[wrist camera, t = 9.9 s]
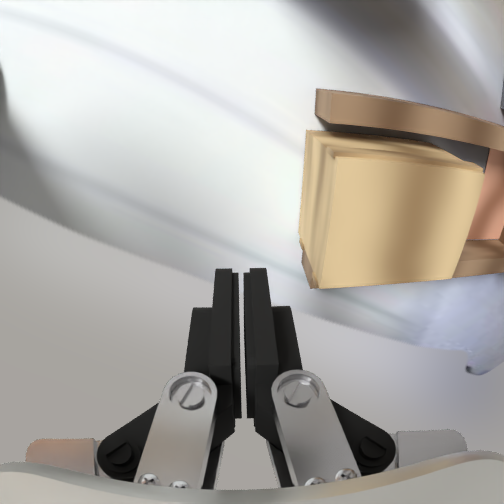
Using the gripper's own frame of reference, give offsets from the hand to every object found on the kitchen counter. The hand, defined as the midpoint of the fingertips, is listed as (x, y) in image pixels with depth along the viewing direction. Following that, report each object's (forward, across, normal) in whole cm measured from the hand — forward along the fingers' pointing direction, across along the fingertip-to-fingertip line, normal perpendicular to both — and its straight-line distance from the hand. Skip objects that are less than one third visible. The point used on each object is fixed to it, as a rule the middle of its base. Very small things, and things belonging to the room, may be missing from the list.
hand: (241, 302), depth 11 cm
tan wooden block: (+11, -8, 0) cm, 14 cm away
